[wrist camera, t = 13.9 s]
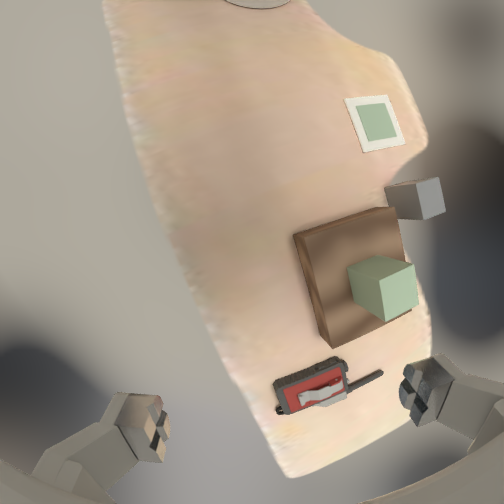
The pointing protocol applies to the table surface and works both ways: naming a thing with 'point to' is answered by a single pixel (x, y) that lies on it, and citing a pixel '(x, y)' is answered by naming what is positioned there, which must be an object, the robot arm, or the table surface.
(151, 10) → the table surface
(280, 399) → the walkie-talkie
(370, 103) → the swatch
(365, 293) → the sage block
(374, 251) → the walnut plinth
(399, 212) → the grey block
